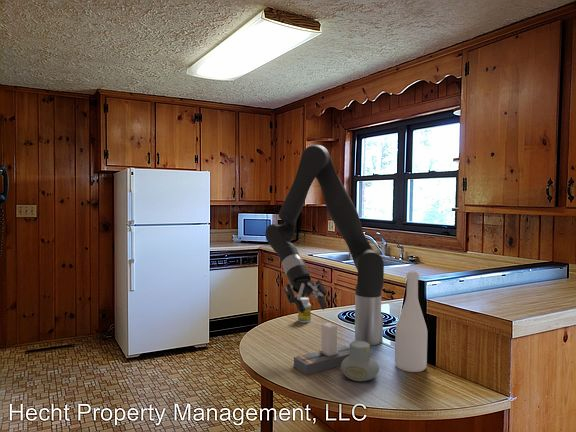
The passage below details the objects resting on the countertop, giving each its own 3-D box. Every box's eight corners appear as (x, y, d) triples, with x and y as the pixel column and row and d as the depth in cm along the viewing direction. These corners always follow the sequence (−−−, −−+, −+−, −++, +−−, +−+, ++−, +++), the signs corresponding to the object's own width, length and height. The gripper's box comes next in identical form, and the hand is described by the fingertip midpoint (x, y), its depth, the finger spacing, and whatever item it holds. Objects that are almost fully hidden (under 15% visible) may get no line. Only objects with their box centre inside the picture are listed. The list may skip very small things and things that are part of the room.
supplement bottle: (305, 318, 185) (306, 296, 185) (313, 321, 181) (313, 298, 180) (295, 320, 183) (295, 297, 182) (302, 323, 178) (303, 300, 177)
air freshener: (380, 375, 129) (381, 342, 129) (375, 386, 122) (375, 351, 121) (345, 368, 134) (345, 337, 133) (337, 379, 126) (337, 346, 125)
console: (344, 353, 146) (344, 344, 145) (357, 361, 140) (358, 351, 140) (293, 366, 135) (293, 356, 135) (306, 374, 129) (306, 364, 129)
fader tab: (329, 349, 141) (329, 321, 140) (338, 354, 137) (339, 326, 136) (319, 351, 139) (319, 323, 138) (328, 356, 135) (329, 328, 134)
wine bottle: (427, 363, 138) (429, 269, 136) (425, 375, 129) (428, 275, 127) (396, 359, 141) (398, 267, 140) (393, 370, 133) (395, 273, 131)
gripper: (282, 265, 147) (300, 307, 138) (316, 262, 154) (336, 301, 145) (274, 278, 152) (291, 319, 143) (308, 274, 159) (326, 312, 150)
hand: (314, 310), depth 144 cm, fingers open, 8 cm apart
